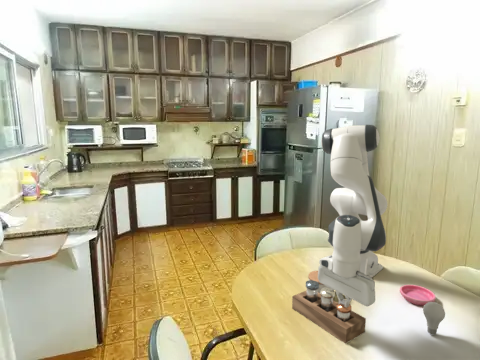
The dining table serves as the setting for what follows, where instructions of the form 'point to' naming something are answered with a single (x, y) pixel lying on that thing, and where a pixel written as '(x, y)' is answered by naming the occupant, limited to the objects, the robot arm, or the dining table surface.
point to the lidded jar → (314, 277)
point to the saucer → (417, 294)
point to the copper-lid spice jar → (343, 312)
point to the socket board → (329, 318)
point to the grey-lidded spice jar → (312, 290)
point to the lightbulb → (433, 316)
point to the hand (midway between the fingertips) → (343, 305)
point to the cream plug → (327, 298)
